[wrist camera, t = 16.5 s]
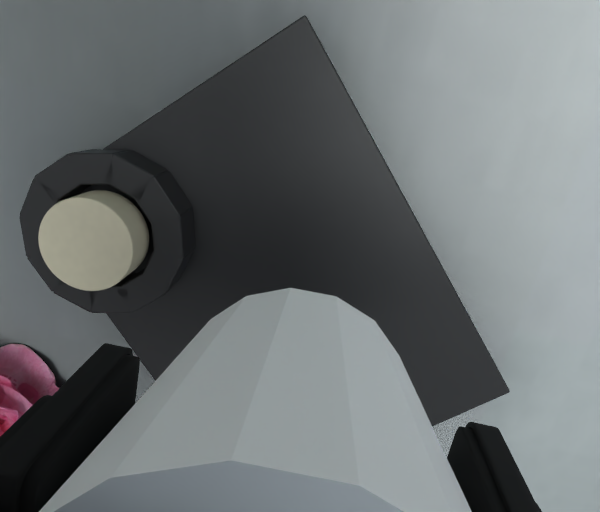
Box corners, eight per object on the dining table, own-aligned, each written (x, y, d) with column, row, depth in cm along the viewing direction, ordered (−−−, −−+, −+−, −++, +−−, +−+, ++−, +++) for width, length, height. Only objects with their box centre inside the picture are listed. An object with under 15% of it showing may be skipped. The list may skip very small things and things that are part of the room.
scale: (32, 194, 23) (-12, 207, 20) (304, 13, 20) (298, -3, 17) (247, 492, 26) (236, 539, 24) (502, 378, 23) (524, 416, 21)
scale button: (44, 217, 20) (18, 228, 18) (114, 172, 19) (93, 178, 18) (97, 291, 21) (77, 307, 19) (167, 250, 20) (151, 263, 18)
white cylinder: (364, 537, 14) (392, 942, 7) (130, 450, 14) (-73, 784, 7) (480, 326, 12) (669, 611, 5) (208, 219, 12) (33, 372, 5)
